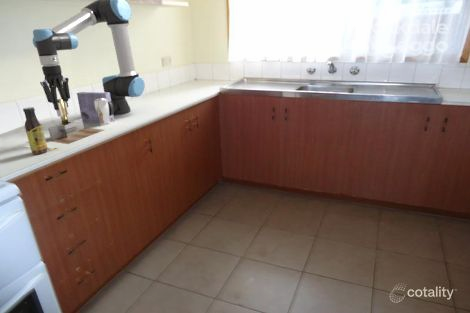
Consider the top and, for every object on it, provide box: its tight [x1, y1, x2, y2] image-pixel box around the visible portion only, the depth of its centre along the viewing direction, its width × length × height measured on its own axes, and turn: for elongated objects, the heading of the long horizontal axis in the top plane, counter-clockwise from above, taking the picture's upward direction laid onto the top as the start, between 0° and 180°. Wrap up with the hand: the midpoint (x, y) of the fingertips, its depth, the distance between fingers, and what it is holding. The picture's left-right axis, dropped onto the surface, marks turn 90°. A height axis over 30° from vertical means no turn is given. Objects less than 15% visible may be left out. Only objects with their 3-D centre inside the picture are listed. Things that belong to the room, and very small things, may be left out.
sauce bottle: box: [22, 106, 49, 155], centre depth 139 cm, size 7×6×20 cm
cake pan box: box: [76, 91, 115, 124], centre depth 181 cm, size 19×5×18 cm, turn 77°
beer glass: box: [94, 98, 112, 126], centre depth 174 cm, size 7×7×15 cm
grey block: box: [55, 118, 85, 138], centre depth 161 cm, size 12×6×6 cm, turn 155°
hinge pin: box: [57, 98, 69, 125], centre depth 156 cm, size 3×3×12 cm
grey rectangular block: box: [47, 125, 77, 140], centre depth 156 cm, size 12×6×6 cm, turn 155°
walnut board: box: [45, 127, 105, 145], centre depth 160 cm, size 22×16×2 cm
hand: (63, 115), depth 156 cm, fingers closed on hinge pin, 3 cm apart
